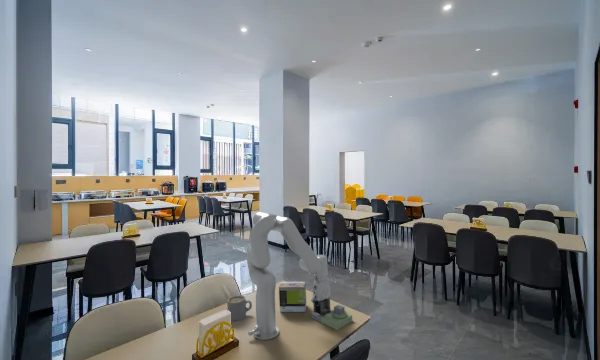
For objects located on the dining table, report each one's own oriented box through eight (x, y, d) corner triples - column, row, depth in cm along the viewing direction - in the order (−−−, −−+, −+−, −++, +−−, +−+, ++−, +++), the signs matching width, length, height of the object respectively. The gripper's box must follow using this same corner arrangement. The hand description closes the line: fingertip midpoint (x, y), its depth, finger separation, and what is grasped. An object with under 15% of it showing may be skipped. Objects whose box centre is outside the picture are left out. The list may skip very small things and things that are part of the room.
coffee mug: (226, 321, 152) (226, 303, 152) (229, 313, 162) (228, 296, 162) (251, 319, 154) (251, 301, 154) (252, 311, 164) (251, 294, 164)
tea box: (306, 305, 170) (305, 280, 170) (305, 313, 160) (304, 287, 160) (282, 304, 172) (281, 280, 171) (279, 312, 162) (278, 287, 161)
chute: (323, 315, 151) (322, 303, 151) (313, 311, 156) (313, 299, 156) (330, 312, 155) (330, 299, 155) (321, 308, 160) (320, 295, 160)
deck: (336, 330, 141) (336, 315, 141) (310, 317, 155) (310, 304, 154) (352, 320, 150) (352, 306, 150) (326, 309, 163) (326, 296, 163)
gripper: (315, 283, 147) (316, 318, 147) (336, 275, 159) (337, 307, 159) (305, 280, 152) (306, 313, 153) (326, 272, 164) (327, 303, 164)
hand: (321, 309), depth 156 cm, fingers closed on chute, 6 cm apart
